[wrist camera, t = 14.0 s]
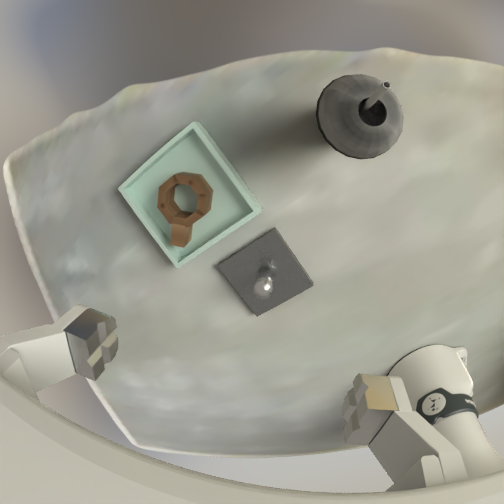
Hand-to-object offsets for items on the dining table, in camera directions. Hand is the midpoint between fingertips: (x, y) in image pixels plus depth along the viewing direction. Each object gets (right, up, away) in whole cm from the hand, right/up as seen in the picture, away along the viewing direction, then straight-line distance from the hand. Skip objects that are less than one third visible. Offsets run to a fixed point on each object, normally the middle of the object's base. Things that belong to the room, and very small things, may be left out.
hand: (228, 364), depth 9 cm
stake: (+3, +1, +31) cm, 31 cm away
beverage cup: (+11, +19, +23) cm, 32 cm away
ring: (-7, +9, +28) cm, 31 cm away
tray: (-7, +11, +28) cm, 31 cm away
